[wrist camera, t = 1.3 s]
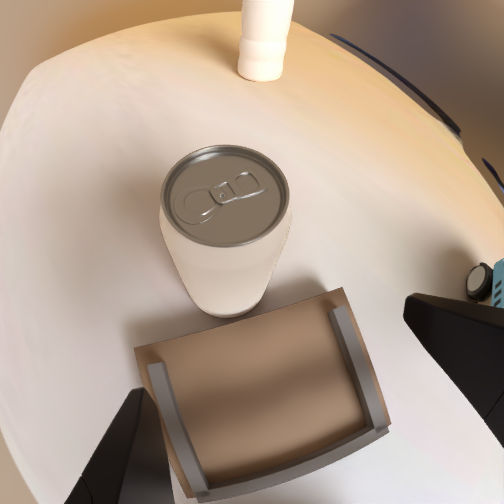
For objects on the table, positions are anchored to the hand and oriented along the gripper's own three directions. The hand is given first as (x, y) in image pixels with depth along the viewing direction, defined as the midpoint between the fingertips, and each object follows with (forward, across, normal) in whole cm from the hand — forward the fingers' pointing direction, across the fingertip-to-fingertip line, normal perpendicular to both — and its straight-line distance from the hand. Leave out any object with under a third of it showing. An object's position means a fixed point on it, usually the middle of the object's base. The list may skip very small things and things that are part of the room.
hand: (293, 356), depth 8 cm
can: (+15, 0, +4) cm, 15 cm away
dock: (+7, 0, +11) cm, 13 cm away
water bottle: (+37, -14, -18) cm, 43 cm away
